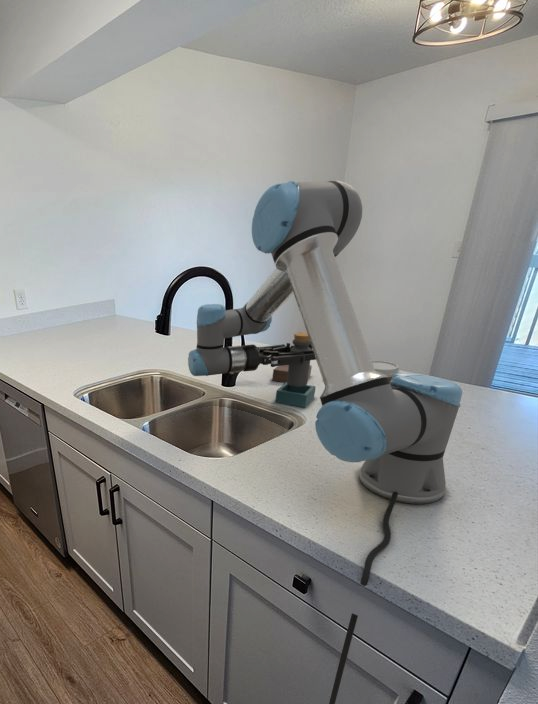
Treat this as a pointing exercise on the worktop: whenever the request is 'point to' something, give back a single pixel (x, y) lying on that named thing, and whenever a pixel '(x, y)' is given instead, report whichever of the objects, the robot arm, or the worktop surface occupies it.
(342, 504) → the worktop surface
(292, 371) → the bottle
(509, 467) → the worktop surface
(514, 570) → the worktop surface
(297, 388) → the holder
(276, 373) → the stand
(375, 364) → the disposable coffee cup
